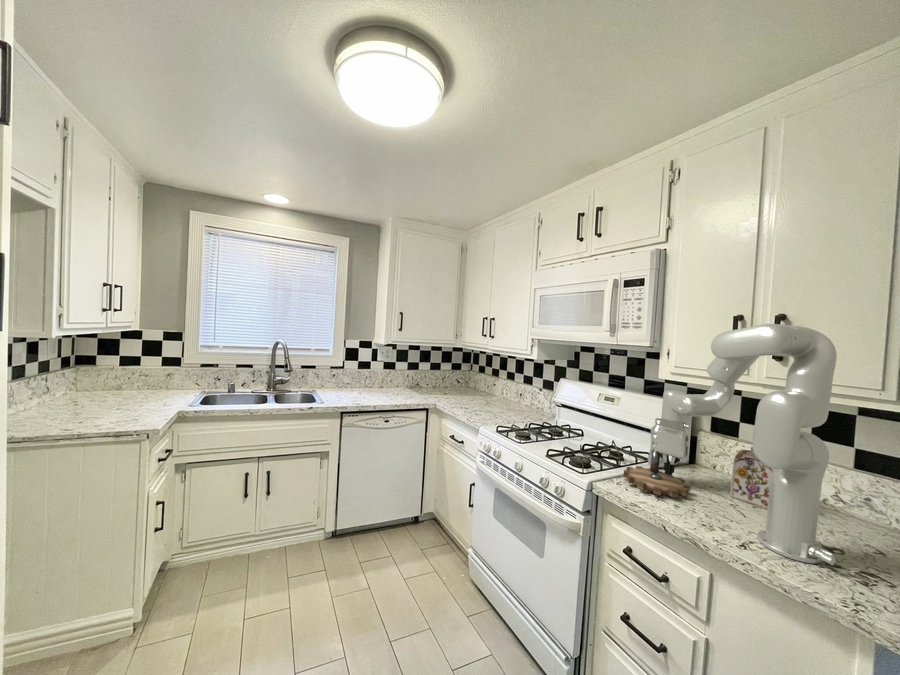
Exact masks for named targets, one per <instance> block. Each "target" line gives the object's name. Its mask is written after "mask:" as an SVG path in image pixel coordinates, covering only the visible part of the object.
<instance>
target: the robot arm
mask: <svg viewBox="0 0 900 675" xmlns="http://www.w3.org/2000/svg"><path fill="white" fill-rule="evenodd" d="M710 350H711V353H712V355H713V356H714V357H715V358H713V359H712V361H711V362H710V363H709V365H707V367H706V372H707V374H708V376H709V377H710V378H712V380H714V382H713V384H712V385H711V386H710V388H709V389H708V390H707V391H706V392H705V393H704V394H698V393H697V394H696V393H695V394H691V393H688V394H687V393H686V392H684V391H681V390H674V389H671V390H670V389H668V390H667V389H666V390H665V391H664V392H663V394H662V403H661V404H662V406H661V417H660V419H661V425H659V427H658V429H657V433H656V438H655V444H654V449H655V450H654V451H657V452H659V453H660V457H661V458H662V460H663V462H664V467H663V471H664V473H665V474H668V475H671V474H672V475H673V474H674V472H675V468H676V464H677V463H686V462H688V458H687V457H688V456H689V449H690V448H689V447H690V446H689V432H688V430H687V429H690V427H691V425H690V424H688V423H687V421H686V417H713V416H715V415H717V414H718V413H719V412H721V411H722V410H723V409H724V408H726V406H727V405H728V404H729V403H730V402H731V400H732V399H733V397H734V393H735V389H736V388H735V387H736V386H735V384H736V382H738V381H739V380H740V378H741V377H742V376H743V375H744V374H745V373H746V372H747V370H749V368H751V366H753V364H754V363H755V362H756V361H757V360H758V359H759V358H760V357H762V356H763V357H764V356H765V357H766V356H778V357H791V358H792V359H793V361H792V363H791V365H789V368H788V371H787V374H786V380H785V386H784V390H775V391H771V392H769V393H767V394H765V395H764V396H763V397H762V398H761V399H760V401H759V402H758V405H757V408H756V414H755V421H754V428H753V435H752V448H753V451H754V454H755V456H756V458H757V459H758V460H759V461H760V462H761V463H762V464H763V465H765V466H766V467H769V468H771V469H773V472H772V476H771V484H770V492H769V502H768V510H767V513H766V524H765V530H761V531H759V532H758V533H757V540H758V541H759V542H760V543H761V544H762V545H763V546H764V547H766V548H767V549H769V550H771V551H773V552H775V553H776V554H779V555H781V556H783V557H786V558H789V559H792V560H794V561H798V562H802V563H807V564H819V563H822V562H825V563H827V564H829V565H830V566H833V565H835V563H836V558H835V554H834V553H832V552H831V551H828V550H825V549H824V548H823V547H821V543H822V542H821V541H820V540H818V539H816V538H817V529H818V521H819V520H818V519H819V509H820V500H821V493H822V486H823V481H824V476H825V473H826V472H827V468H828V464H829V463H830V462H829V460H830V452H829V449H828V446H827V444H825V442H824V441H823V440H822V439H821V438H820V437H818V436H817V435H815V434H813V433H811V432H807V431H803V430H802V431H801V429H808V428H809V429H812V428H817V427H820V426H822V425H823V424H825V423H826V422H827V419H828V416H829V410H830V406H831V405H830V403H831V397H832V390H833V381H834V376H835V375H834V374H835V370H836V366H837V360H838V359H837V358H838V356H837V349H836V347H835V344H834V343H833V341H832V340H831V339H830V338H829V337H828V336H827V335H825V334H824V333H822V332H820V331H818V330H815V329H813V328H810V327H806V326H802V325H793V324H792V325H791V324H779V323H764V324H757V325H752V326H748V327H741V328H738V329H737V328H736V329H732V330H727V331H723V332H721V333H718V334H717V335H716V336H715V337H714V338H713V340H712V341H711V343H710ZM670 457H671V458H670Z"/></svg>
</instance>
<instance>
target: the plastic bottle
mask: <svg viewBox="0 0 900 675" xmlns="http://www.w3.org/2000/svg"><path fill="white" fill-rule="evenodd" d="M654 423H655V424H654V425H653V426H652V427H651V429H650V449H649V453H648V455H647V463H648V465H650V461H651V455H652V450H653V449H654V444H655V438H656V433H657V429H658V427H659V425H661V418H657V417H656V418H655V420H654ZM659 468H664V462H663V460H662V458H661V457H660V463H659Z"/></svg>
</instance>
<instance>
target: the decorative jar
mask: <svg viewBox="0 0 900 675" xmlns="http://www.w3.org/2000/svg"><path fill="white" fill-rule="evenodd" d="M772 472H773V469H771V468H769V467H766V466H765V465H763V464H762V463H761V462H760V461H759V460H758V459H757V458H756V456H755V454H754V451H753V447H751V450H749V449H741V450H739V451H738V452H737V454H736V455H735V456H734V458H733V465H732V473H731V481H730V482H731V483H730V492H729V493H730V494H729V496H730V498H734V499H736V500H739V501H742V502H745V503H748V504H750V505H753V506H757V507H758V508H762V509H764V510H767V511H768V502H769V492H770V484H771V476H772Z"/></svg>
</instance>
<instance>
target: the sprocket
mask: <svg viewBox="0 0 900 675" xmlns="http://www.w3.org/2000/svg"><path fill="white" fill-rule="evenodd" d="M654 450H655V449H653V450H652V455H651V466H650V465H649V468H645V467H643V466H641V465H640V466H639V465H636V466H635V467H631V466H628V467H626V469H624V470H623V478H626V479H625V481H626V482H627V483H628V484H633V485H634V484H635V485H636V488H637V489H640V490H642V491H643V490H647V491H649V490H650V491H649V492H652V491H654V492H653V494H655V495H659V496H661V495H662V494H661V493H663V495H669V496H670V497H672V498H678V496H679V495H680V496H681V495H682V496H683V497H686V496H688V494H689V493H690V492H691V491H690V490H691V486H690V483H686V480H685V479H683V478H682V477H676V476H674V475H673V473H672V474H671V475H668V474H665V471H664V472H663V471H660V467H659V463H660V453H659V452H657V451H654Z"/></svg>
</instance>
